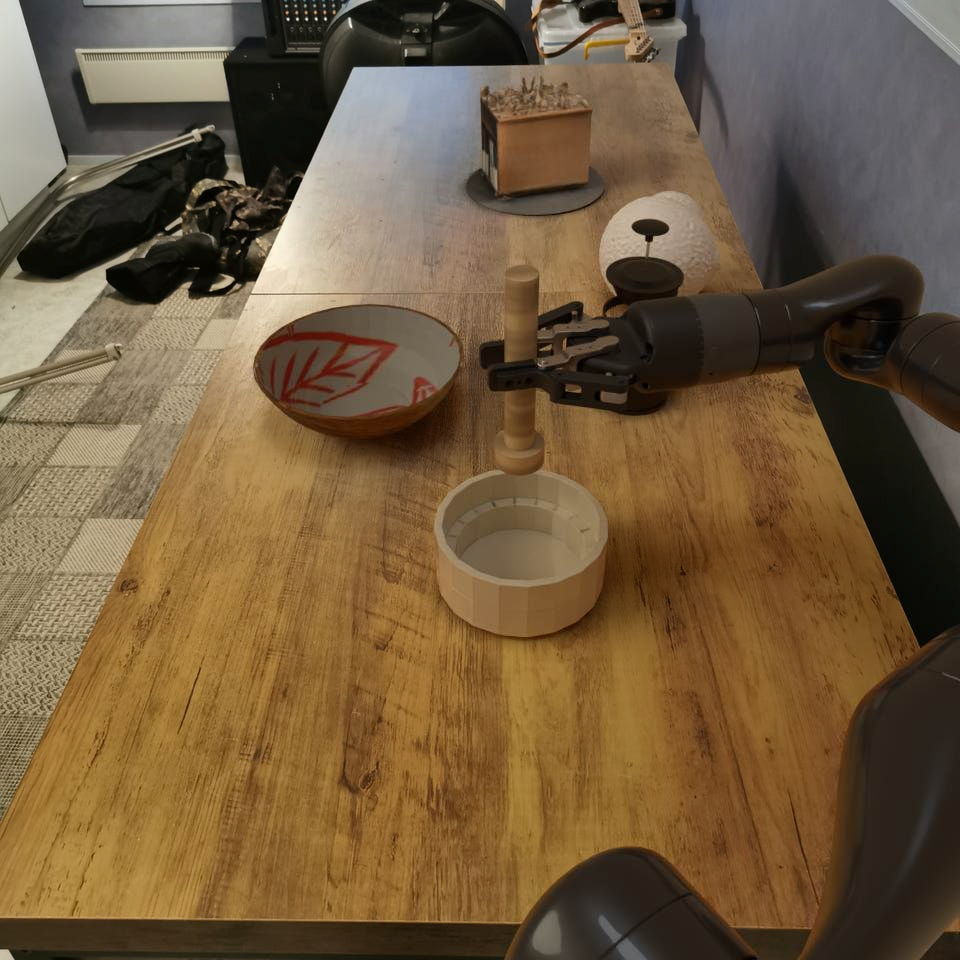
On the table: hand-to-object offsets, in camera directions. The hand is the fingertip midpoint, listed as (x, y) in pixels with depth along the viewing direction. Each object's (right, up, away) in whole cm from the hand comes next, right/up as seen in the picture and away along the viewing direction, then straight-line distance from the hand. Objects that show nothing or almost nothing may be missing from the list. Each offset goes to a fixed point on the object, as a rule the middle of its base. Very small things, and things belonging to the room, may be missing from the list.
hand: (485, 367), depth 74 cm
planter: (+10, +44, +94) cm, 104 cm away
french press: (+19, +2, +44) cm, 48 cm away
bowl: (-15, 0, +42) cm, 45 cm away
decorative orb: (+25, +17, +62) cm, 69 cm away
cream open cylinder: (+4, -19, +20) cm, 28 cm away
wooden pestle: (+3, -7, +7) cm, 10 cm away
